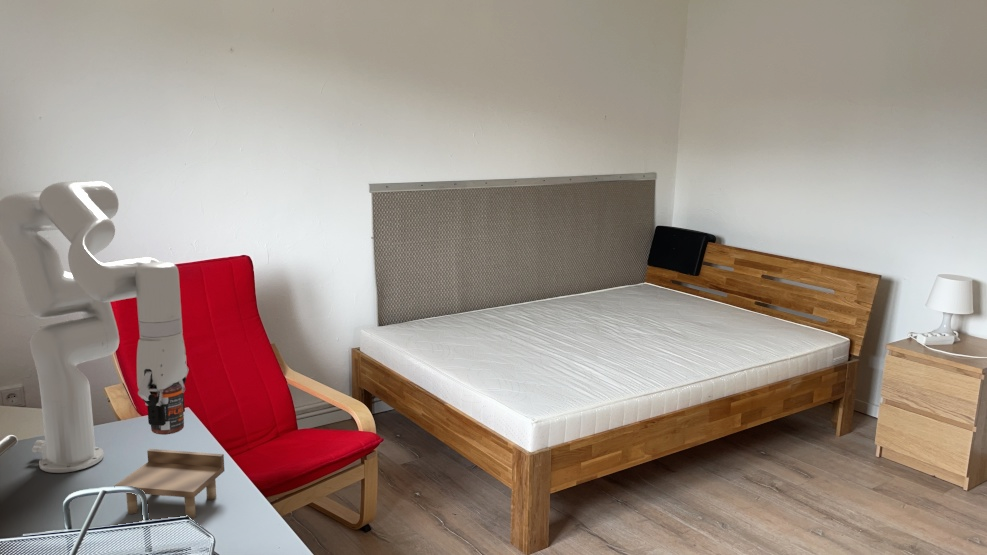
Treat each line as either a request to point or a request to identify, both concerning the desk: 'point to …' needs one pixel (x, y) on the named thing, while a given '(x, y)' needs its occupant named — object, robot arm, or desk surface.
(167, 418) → the supplement bottle
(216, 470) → the peg shelf
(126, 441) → the desk surface
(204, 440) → the desk surface
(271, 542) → the desk surface
